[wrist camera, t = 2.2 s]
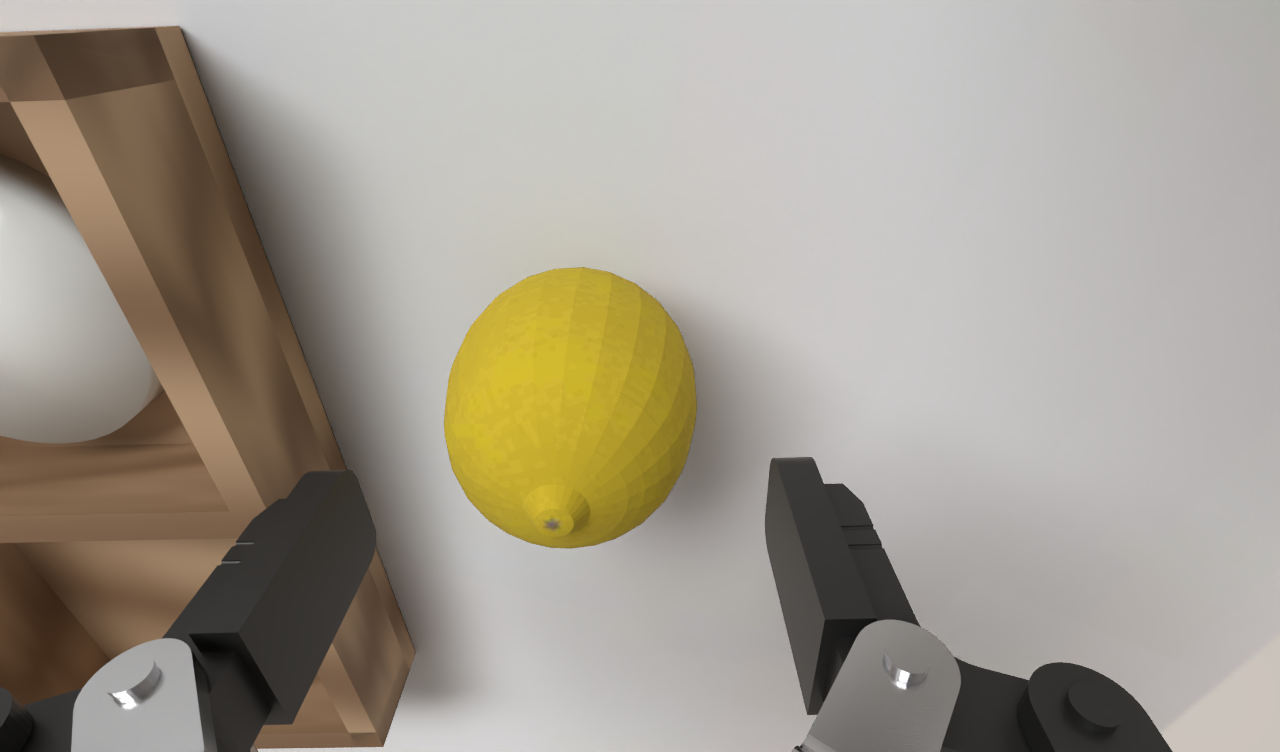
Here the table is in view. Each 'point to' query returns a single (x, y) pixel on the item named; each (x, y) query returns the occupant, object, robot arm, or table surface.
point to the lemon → (570, 408)
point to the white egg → (60, 324)
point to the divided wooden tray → (165, 391)
